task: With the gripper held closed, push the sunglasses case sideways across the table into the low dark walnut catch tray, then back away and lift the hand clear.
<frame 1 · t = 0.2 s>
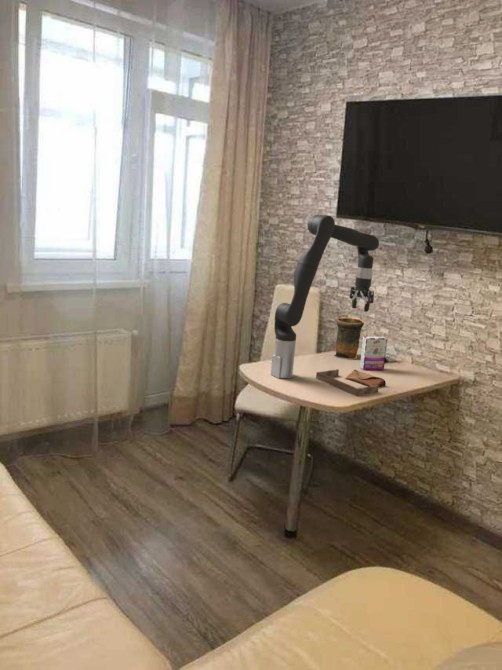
hand: (359, 309, 273), 29 cm above the table, tool pointing down, fingers open, 8 cm apart
catch tray: (346, 385, 247), on the table
vessel: (346, 356, 297), on the table
sunglasses case: (363, 383, 253), on the table
candy bar box: (371, 369, 276), on the table
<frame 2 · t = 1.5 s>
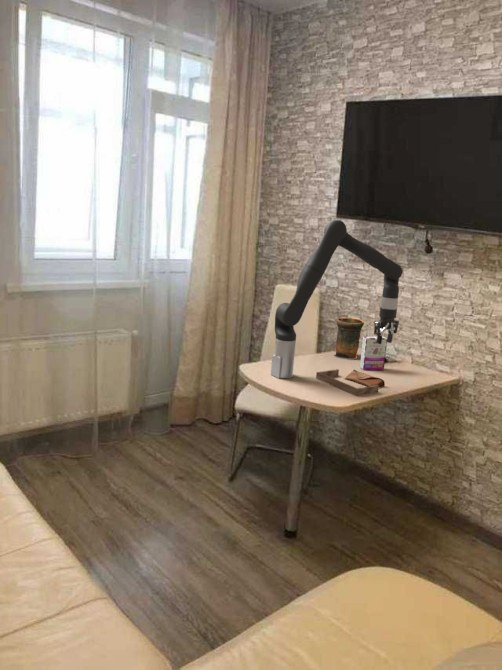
hand: (384, 342, 255), 18 cm above the table, tool pointing down, fingers open, 6 cm apart
nothing on the table moved.
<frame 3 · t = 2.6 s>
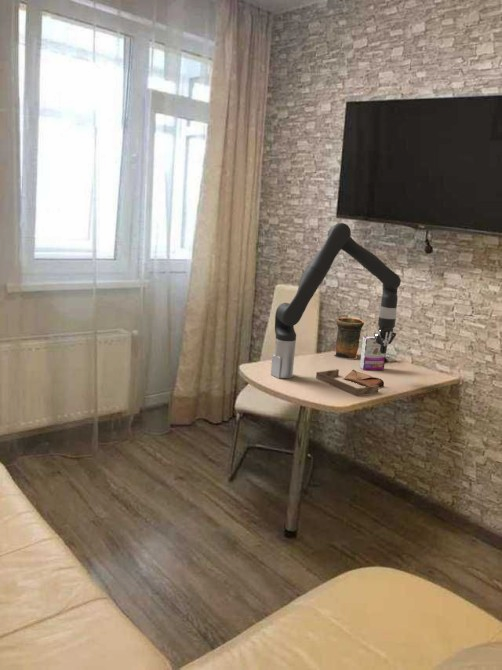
hand: (382, 353, 256), 13 cm above the table, tool pointing down, fingers closed
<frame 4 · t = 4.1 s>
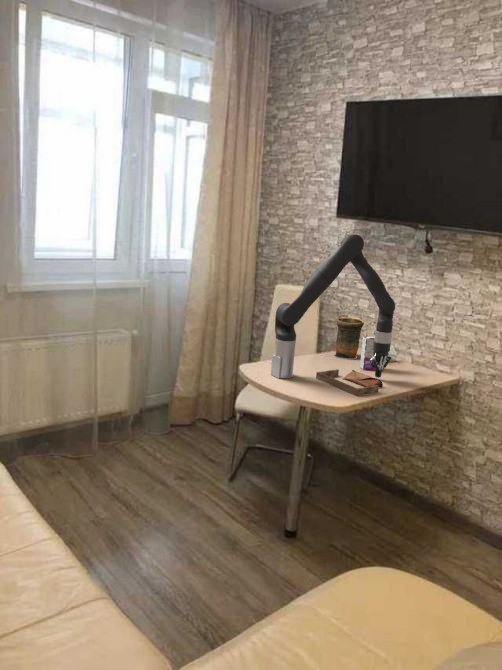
hand: (377, 376, 258), 1 cm above the table, tool pointing down, fingers closed
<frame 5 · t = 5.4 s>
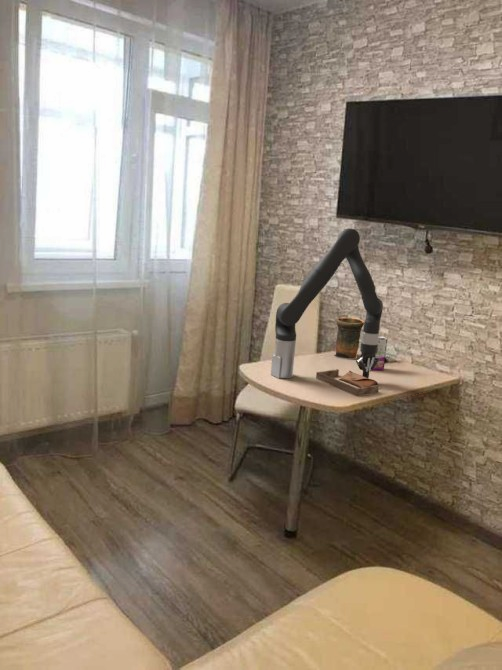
hand: (365, 378, 253), 1 cm above the table, tool pointing down, fingers closed
sunglasses case: (356, 385, 251), on the table, touching gripper
everything else where it was.
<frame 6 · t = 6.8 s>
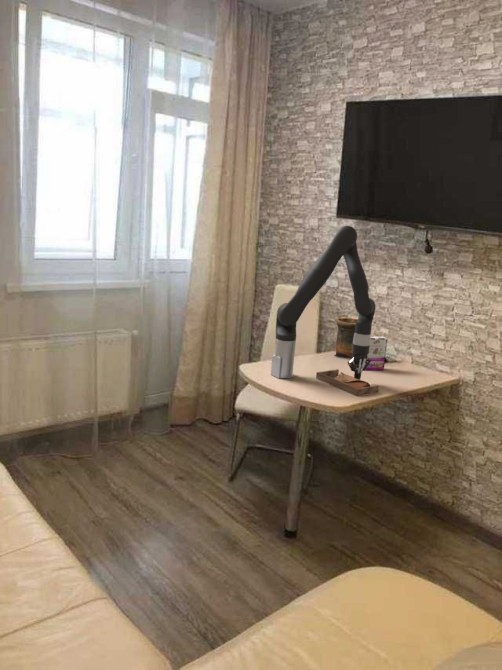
hand: (356, 380, 250), 2 cm above the table, tool pointing down, fingers closed
sunglasses case: (348, 386, 247), on the table
everything else where it was.
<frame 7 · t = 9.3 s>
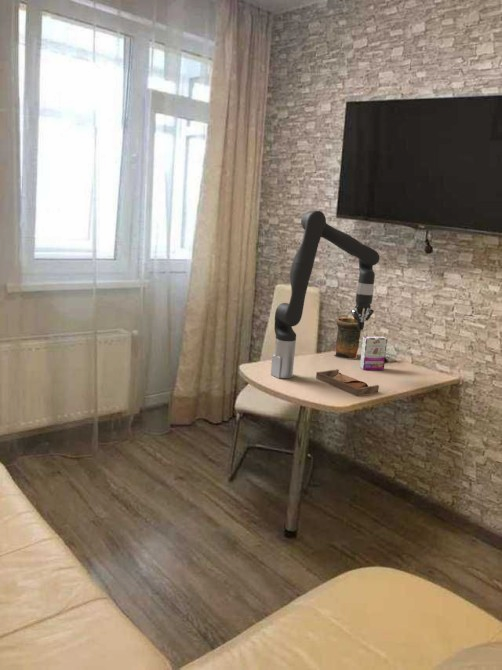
hand: (360, 329, 260), 22 cm above the table, tool pointing down, fingers closed
sunglasses case: (346, 387, 246), on the table
everything else where it was.
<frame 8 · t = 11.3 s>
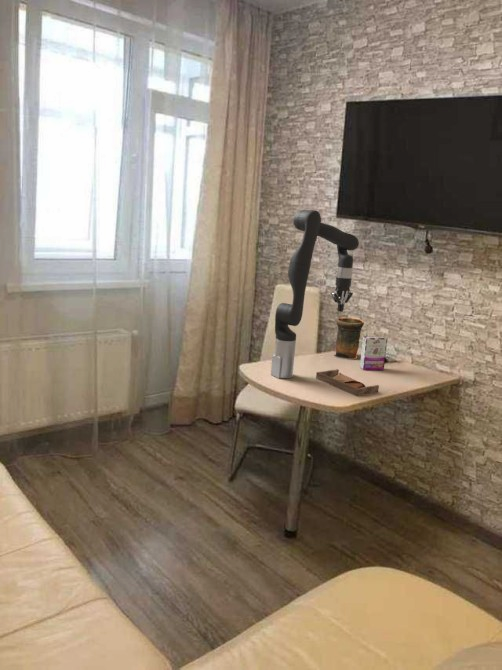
hand: (340, 311, 274), 27 cm above the table, tool pointing down, fingers closed
at the end: sunglasses case inside the target area (1.4 cm from its centre), on the table; sunglasses case moved 12.6 cm from its start; the gripper is holding nothing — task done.
